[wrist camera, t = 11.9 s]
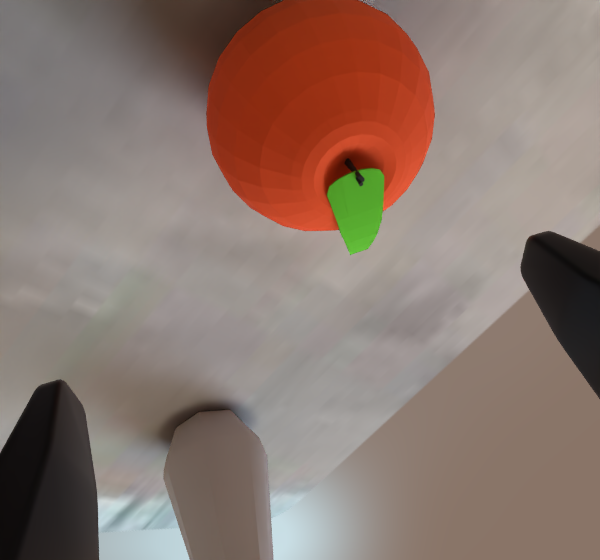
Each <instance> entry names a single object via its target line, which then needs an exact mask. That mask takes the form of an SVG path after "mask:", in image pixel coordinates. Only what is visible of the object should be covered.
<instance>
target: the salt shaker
mask: <svg viewBox="0 0 600 560" xmlns="http://www.w3.org/2000/svg"><path fill="white" fill-rule="evenodd" d="M164 482H165V485H166V488H167V491H168V494H169V497H170V500H171V503H172V506H173V509H174V512H175V515H176V518H177V521H178V525H179V528H180V531H181V534H182V537H183V540H184V543H185V546H186V549H187V552H188V555H189V558H190V560H273V545H272V528H271V510H270V493H269V476H268V459H267V454H266V452H265V450H264V447H263V445H262V443H261V441H260V439H259V437H258V436H257V435H256V434H255V433H254V432H253V431H252V430H250V429H249V428H248V427H247V426H246V425H245V424H244V423H243V422H242V421H241V420H240V419H239V418H238V417H237V416H236V415H235V414H234V413H233V412H232V411H231V410H221V411H205V412H198V413H197V414H195V415H194V416H193V417H191V418H190V419H188V420H187V421H185V422H184V423H182V424H181V425H179V426H178V427H176V429H175V432H174V435H173V438H172V442H171V445H170V448H169V451H168V455H167V458H166V462H165V467H164Z"/></svg>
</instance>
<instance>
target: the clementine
mask: <svg viewBox="0 0 600 560" xmlns="http://www.w3.org/2000/svg"><path fill="white" fill-rule="evenodd" d="M206 116H207V130H208V135H209V140H210V145H211V150H212V155H213V156H214V158H215V160H216V162H217V164H218V166H219V168H220V169H221V171H222V173H223V175H224V177H225V179H226V180H227V182H228V183H229V185H230V187H231V188H232V190H233V191H234V192H235V193H236V194H237V195H238V196H239V197H240V198H241V199H242V200H243V201H244V202H245V203H246V204H247V205H248V206H249V207H250V208H252V209H253V210H255V211H257V212H258V213H260V214H262V215H264V216H265V217H267V218H269V219H271V220H273V221H275V222H277V223H278V224H280V225H282V226H285V227H290V228H294V229H299V230H303V231H329V230H340V233H341V235H342V237H343V239H344V241H345V243H346V246H347V248H348V251H349V253H350V255H351V254H354V253H357V252H360V251H363V250H366V249H368V248H369V246H370V245H371V244H372V242H373V241H374V239H375V237H376V235H377V233H378V230H379V226H380V223H381V219H382V212H383V211H384V210H386V209H387V208H388V207H390V206H391V205H393V203H394V202H395V201H396V200H397V199H398V198H399V197H400V196H401V195H402V194H403V193H404V192H405V191H406V190H407V189H408V187H409V186H410V184H411V182H412V181H413V179H414V178H415V176H416V175H417V173H418V172H419V170H420V168H421V166H422V164H423V161H424V159H425V156H426V153H427V151H428V148H429V145H430V143H431V140H432V134H433V125H434V116H435V113H434V103H433V95H432V89H431V83H430V76H429V72H428V70H427V68H426V66H425V64H424V62H423V60H422V58H421V56H420V54H419V51H418V49H417V48H416V46H415V45H414V43H413V42H412V41H411V39H410V38H409V36H408V35H407V34H406V33H405V32H404V31H403V30H402V29H401V28H400V27H399V26H398V25H397V24H396V23H395V22H394V21H393V20H392V19H391V18H390V17H389V16H388V15H387V14H385V13H383V12H381V11H379V10H377V9H375V8H373V7H371V6H369V5H367V4H365V3H363V2H361V1H358V0H284V1H281V2H279V3H277V4H275V5H273V6H271V7H269V8H267V9H265V10H262V11H261V12H260V13H258V14H257V15H256V16H255V17H254V18H252V19H251V20H250V21H249V22H248V23H247V24H245V25H244V26H243V27H242V28H241V29H240V30H238V31H237V32H236V34H235V35H234V37H233V38H232V39H231V41H230V42H229V44H228V45H227V47H226V48H225V50H224V51H223V52H222V54H221V55H220V57H219V59H218V61H217V64H216V67H215V70H214V72H213V75H212V78H211V81H210V83H209V88H208V100H207V112H206Z"/></svg>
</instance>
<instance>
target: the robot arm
mask: <svg viewBox="0 0 600 560" xmlns="http://www.w3.org/2000/svg"><path fill="white" fill-rule="evenodd" d="M521 274H522V277H523V279H524V281H525V282H526V284H527V286H528V288H529V290H530V291H531V293H532V295H533V297H534V299H535V300H536V302H537V304H538V306H539V308H540V309H541V311H542V313H543V315H544V317H545V318H546V320H547V322H548V324H549V325H550V327H551V329H552V331H553V333H554V334H555V336H556V337H557V339H558V341H559V342H560V344H561V345H562V346H563V348H564V350H565V351H566V352H567V354H568V355H569V357H570V358H571V359H572V361H573V362H574V364H575V365H576V366H577V368H578V369H579V371H580V372H581V373H582V375H583V376H584V378H585V379H586V380H587V382H588V383H589V385H590V386H591V387H592V389H593V390H594V392H595V393H596V394H597V396H598V397H599V399H600V251H597V250H595V249H593V248H591V247H588V246H586V245H583V244H581V243H578V242H576V241H574V240H571V239H569V238H566V237H564V236H562V235H559V234H557V233H554V232H551V231H546V232H542V233H539V234H535V235H532V236H530V237H529V238H528V239H527V241H526V245H525V249H524V253H523V258H522V262H521ZM0 560H99V540H98V503H97V489H96V481H95V474H94V468H93V461H92V455H91V448H90V441H89V435H88V428H87V421H86V415H85V411H84V408H83V406H82V404H81V402H80V401H79V399H78V398H77V397H76V395H75V394H74V393H73V391H72V390H71V389H70V387H69V386H68V385H67V383H66V382H65V381H63V380H61V379H60V380H55V381H52V382H49V383H45V384H42V385H40V386H38V387H37V388H36V390H35V391H34V393H33V395H32V397H31V398H30V400H29V402H28V404H27V406H26V407H25V409H24V411H23V413H22V415H21V417H20V418H19V420H18V422H17V424H16V426H15V427H14V429H13V431H12V433H11V435H10V436H9V438H8V440H7V442H6V444H5V445H4V447H3V449H2V451H1V453H0Z"/></svg>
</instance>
